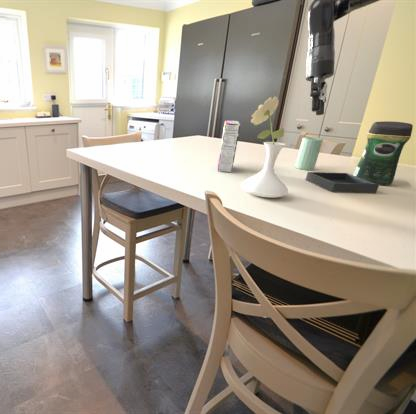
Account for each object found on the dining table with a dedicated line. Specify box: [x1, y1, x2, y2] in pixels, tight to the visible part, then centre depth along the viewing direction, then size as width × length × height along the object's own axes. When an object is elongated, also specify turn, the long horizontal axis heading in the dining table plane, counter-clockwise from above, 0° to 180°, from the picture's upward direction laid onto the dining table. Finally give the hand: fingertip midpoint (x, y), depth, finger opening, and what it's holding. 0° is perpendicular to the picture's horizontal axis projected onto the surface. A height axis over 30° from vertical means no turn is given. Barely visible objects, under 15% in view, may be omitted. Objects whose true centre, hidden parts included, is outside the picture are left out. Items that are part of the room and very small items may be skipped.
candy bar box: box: [217, 120, 241, 173], centre depth 100 cm, size 11×5×16 cm, turn 159°
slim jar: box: [294, 136, 324, 171], centre depth 104 cm, size 6×6×11 cm
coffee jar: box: [352, 120, 414, 186], centre depth 87 cm, size 10×8×19 cm
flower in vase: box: [240, 95, 289, 199], centre depth 73 cm, size 13×11×25 cm
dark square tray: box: [305, 171, 380, 194], centre depth 85 cm, size 12×12×3 cm
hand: (317, 113), depth 96 cm, fingers open, 8 cm apart
